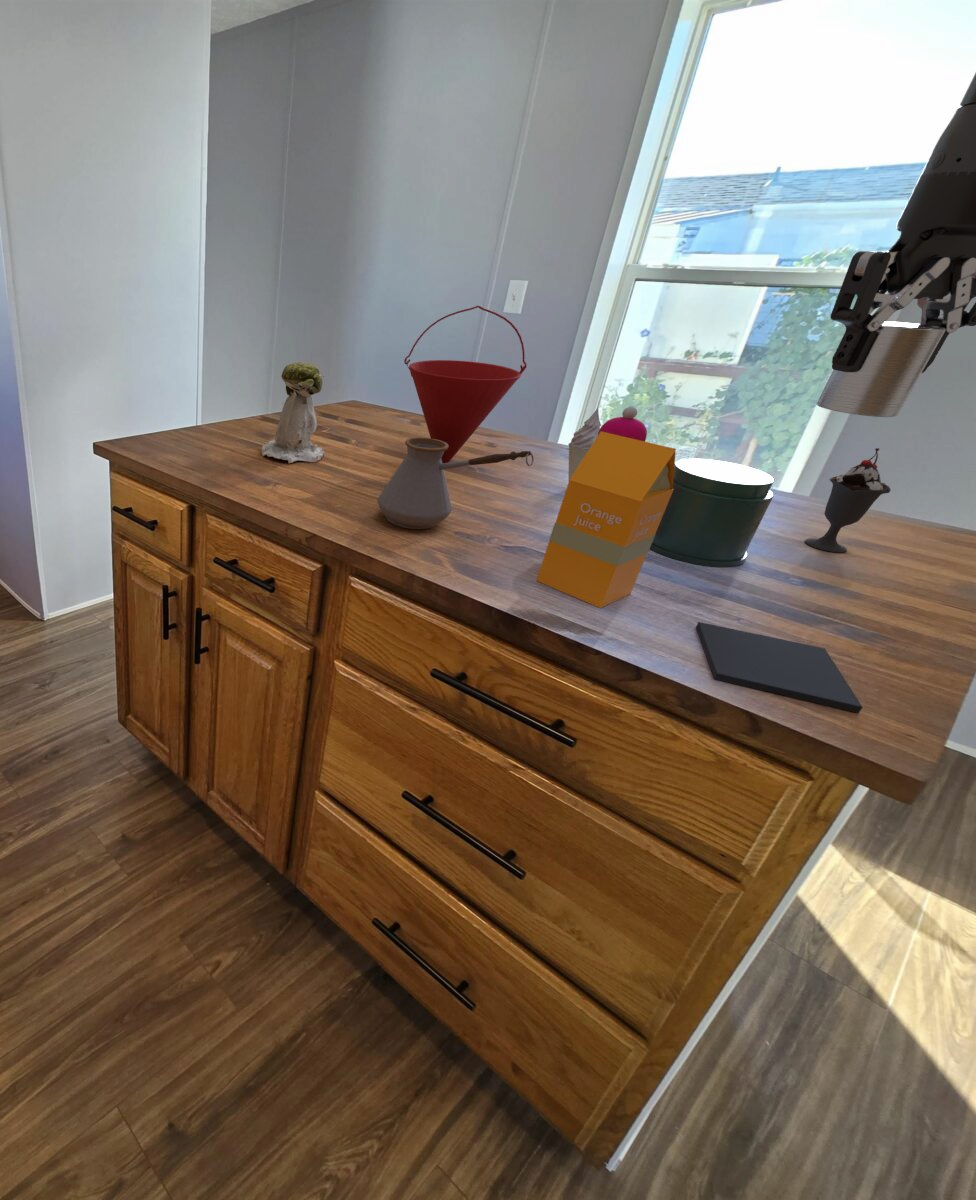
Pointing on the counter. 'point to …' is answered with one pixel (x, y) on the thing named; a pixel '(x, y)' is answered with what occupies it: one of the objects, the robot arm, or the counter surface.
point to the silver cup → (883, 371)
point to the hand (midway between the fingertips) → (876, 371)
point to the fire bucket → (459, 393)
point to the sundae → (850, 501)
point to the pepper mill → (626, 425)
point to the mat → (776, 666)
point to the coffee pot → (426, 484)
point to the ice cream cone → (583, 441)
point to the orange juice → (608, 519)
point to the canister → (712, 512)
